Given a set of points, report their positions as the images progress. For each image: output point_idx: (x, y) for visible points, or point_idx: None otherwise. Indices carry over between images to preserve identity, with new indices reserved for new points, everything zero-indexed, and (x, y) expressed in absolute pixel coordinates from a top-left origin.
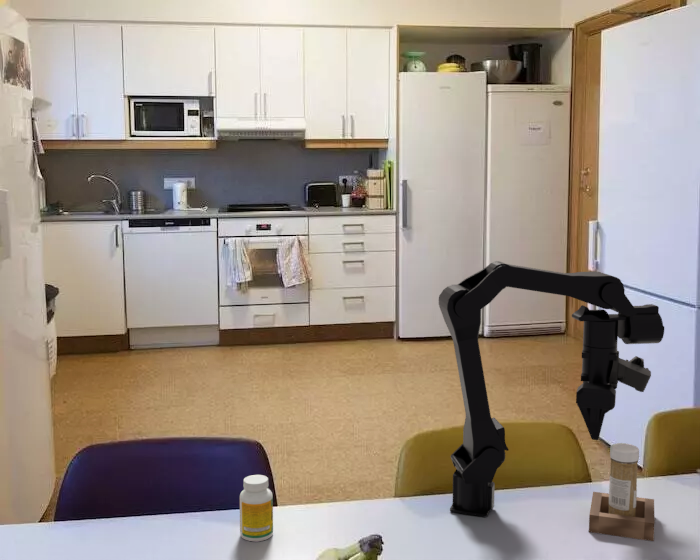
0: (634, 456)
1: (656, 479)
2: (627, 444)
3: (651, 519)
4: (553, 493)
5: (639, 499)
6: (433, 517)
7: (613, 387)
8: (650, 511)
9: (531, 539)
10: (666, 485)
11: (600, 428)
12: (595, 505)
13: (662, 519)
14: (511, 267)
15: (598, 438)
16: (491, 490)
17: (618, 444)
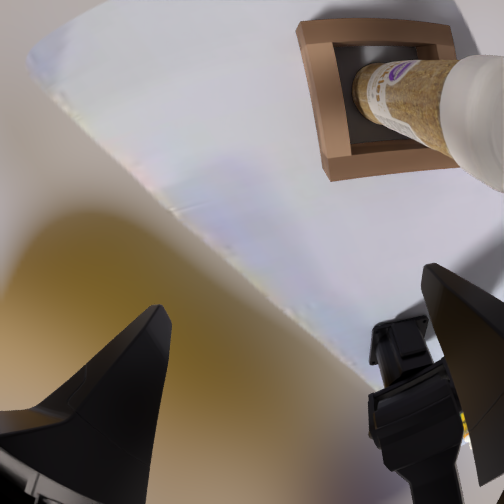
0: None
1: (67, 98)
2: (492, 114)
3: (434, 29)
4: (280, 260)
5: (324, 56)
6: (432, 355)
7: (15, 451)
8: (391, 27)
9: (482, 239)
10: (85, 66)
11: (487, 294)
12: (416, 160)
13: (303, 10)
14: None
15: (439, 265)
16: (425, 344)
17: (500, 161)
